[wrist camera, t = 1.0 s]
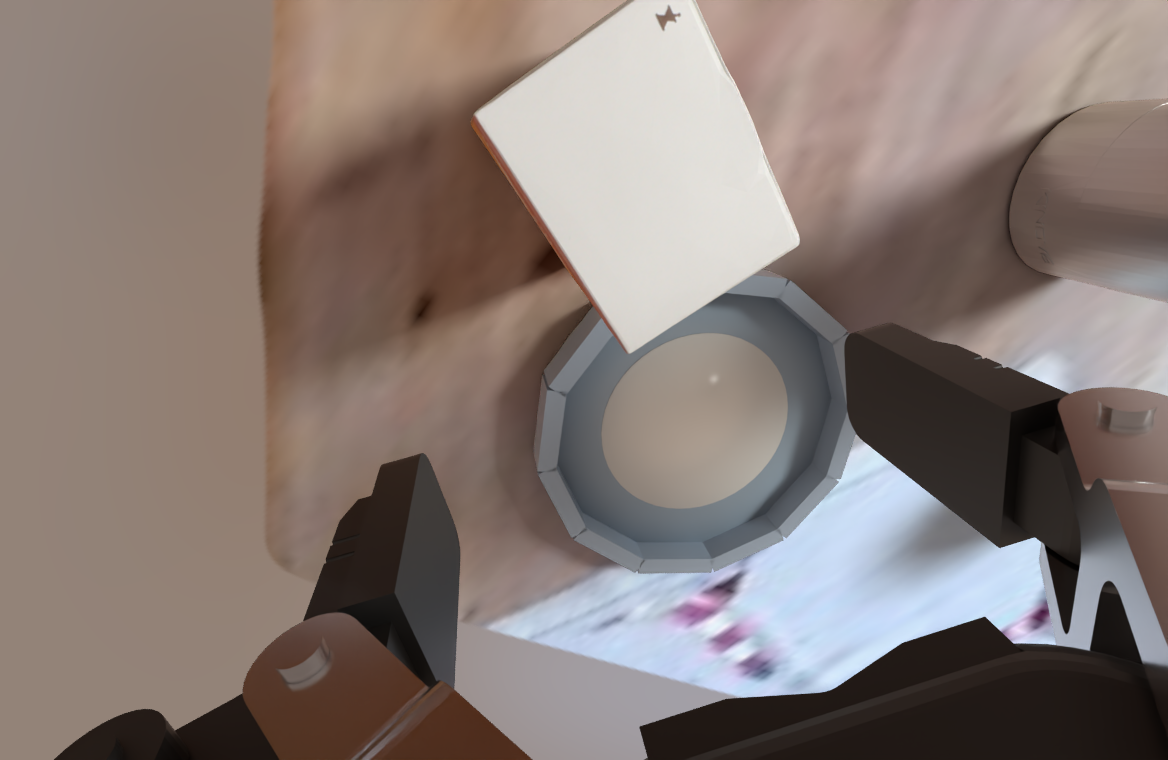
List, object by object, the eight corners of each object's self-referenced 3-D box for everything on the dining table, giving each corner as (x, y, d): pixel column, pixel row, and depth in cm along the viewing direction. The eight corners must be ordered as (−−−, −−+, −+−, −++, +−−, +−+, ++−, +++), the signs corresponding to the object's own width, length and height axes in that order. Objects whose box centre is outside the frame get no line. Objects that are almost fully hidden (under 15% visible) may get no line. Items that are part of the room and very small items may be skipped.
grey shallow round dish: (798, 207, 30) (823, 213, 28) (859, 473, 38) (883, 494, 36) (480, 351, 30) (481, 367, 28) (605, 589, 38) (613, 617, 35)
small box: (466, 122, 26) (464, 109, 14) (585, 39, 26) (683, -48, 14) (565, 271, 29) (629, 361, 18) (671, 199, 29) (810, 241, 17)
